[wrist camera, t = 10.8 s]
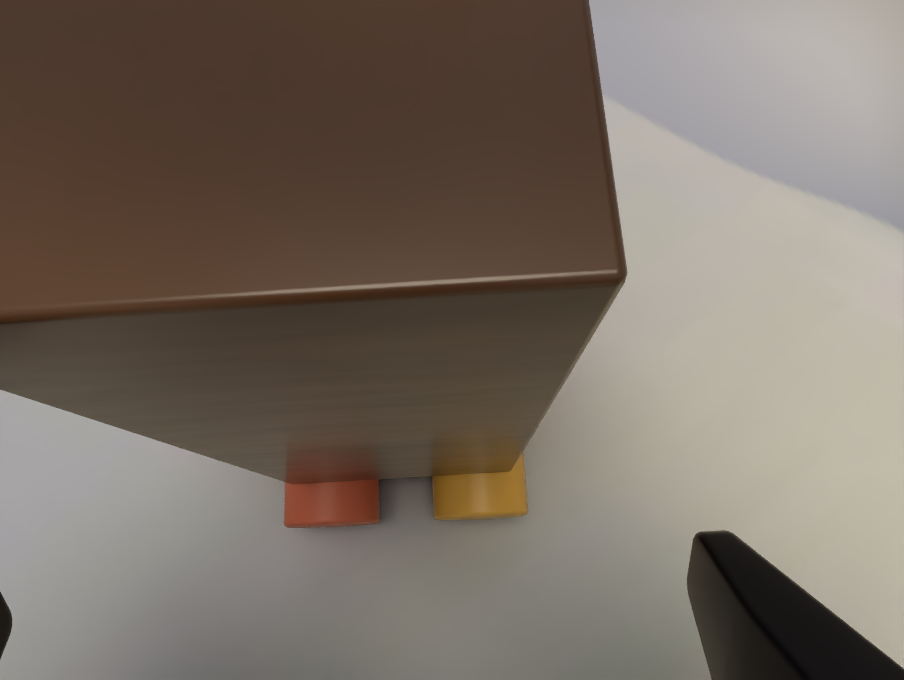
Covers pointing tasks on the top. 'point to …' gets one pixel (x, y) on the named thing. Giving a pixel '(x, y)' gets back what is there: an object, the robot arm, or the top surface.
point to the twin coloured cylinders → (450, 499)
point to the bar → (305, 224)
